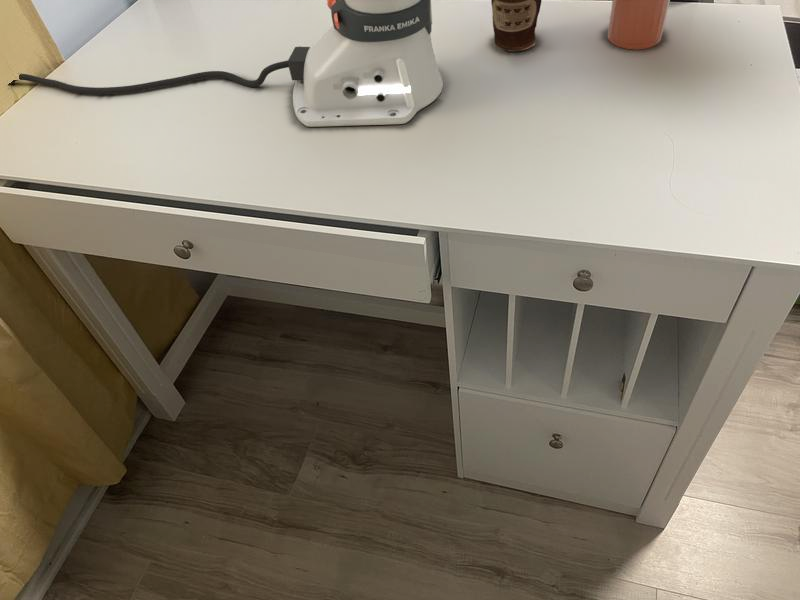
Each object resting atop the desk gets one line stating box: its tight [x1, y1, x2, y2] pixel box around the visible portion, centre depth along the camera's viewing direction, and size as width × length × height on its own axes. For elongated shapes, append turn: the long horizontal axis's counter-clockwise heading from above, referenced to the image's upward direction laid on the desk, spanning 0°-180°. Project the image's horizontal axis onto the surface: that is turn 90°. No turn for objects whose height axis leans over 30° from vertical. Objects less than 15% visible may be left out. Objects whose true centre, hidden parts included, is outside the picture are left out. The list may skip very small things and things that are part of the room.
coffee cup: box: [490, 0, 542, 52], centre depth 100 cm, size 9×8×13 cm
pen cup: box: [607, 0, 671, 50], centre depth 99 cm, size 8×8×10 cm
